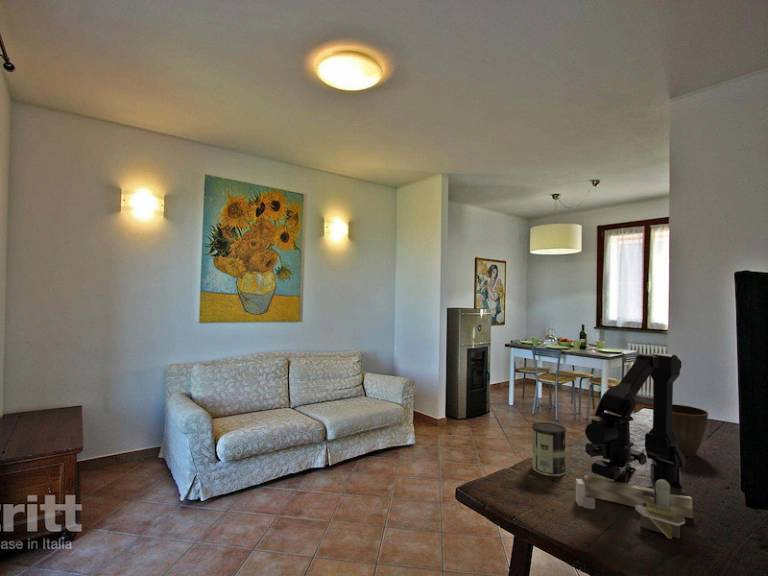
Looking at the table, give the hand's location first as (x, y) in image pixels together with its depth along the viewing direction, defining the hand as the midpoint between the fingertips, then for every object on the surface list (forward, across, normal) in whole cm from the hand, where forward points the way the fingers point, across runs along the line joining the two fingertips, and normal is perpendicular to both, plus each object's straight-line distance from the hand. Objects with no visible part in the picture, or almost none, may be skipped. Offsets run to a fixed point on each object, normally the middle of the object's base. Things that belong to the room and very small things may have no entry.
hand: (620, 493), depth 113 cm
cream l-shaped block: (+1, +12, -3) cm, 13 cm away
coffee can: (+1, +1, -22) cm, 23 cm away
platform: (+2, +10, +14) cm, 17 cm away
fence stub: (+2, -4, +13) cm, 14 cm away
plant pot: (+4, -55, -6) cm, 56 cm away
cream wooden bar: (+1, +4, +1) cm, 4 cm away
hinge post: (+2, -1, +10) cm, 10 cm away
